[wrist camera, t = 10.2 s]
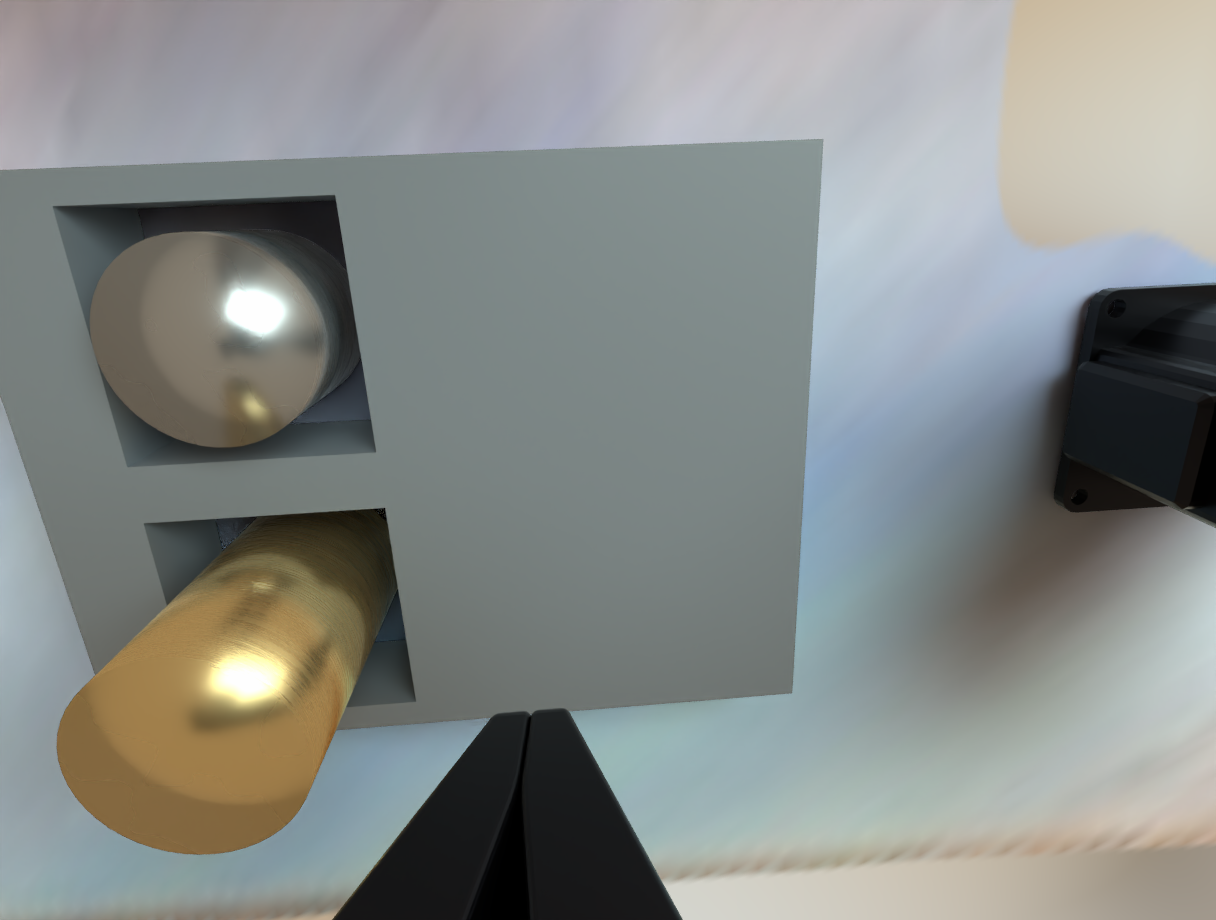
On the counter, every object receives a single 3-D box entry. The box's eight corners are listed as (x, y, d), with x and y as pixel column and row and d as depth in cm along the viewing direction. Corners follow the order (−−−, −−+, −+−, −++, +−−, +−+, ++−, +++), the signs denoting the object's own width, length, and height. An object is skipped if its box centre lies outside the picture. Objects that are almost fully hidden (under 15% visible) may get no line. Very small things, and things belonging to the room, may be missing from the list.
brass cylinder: (390, 485, 20) (286, 647, 12) (412, 620, 21) (331, 842, 13) (231, 496, 19) (22, 669, 12) (264, 632, 21) (97, 865, 13)
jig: (780, 152, 17) (823, 139, 15) (761, 632, 22) (792, 693, 19) (33, 181, 16) (-75, 173, 14) (178, 676, 21) (120, 747, 18)
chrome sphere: (351, 224, 17) (293, 226, 14) (378, 396, 19) (333, 440, 15) (170, 233, 17) (60, 237, 13) (212, 406, 19) (124, 454, 15)
